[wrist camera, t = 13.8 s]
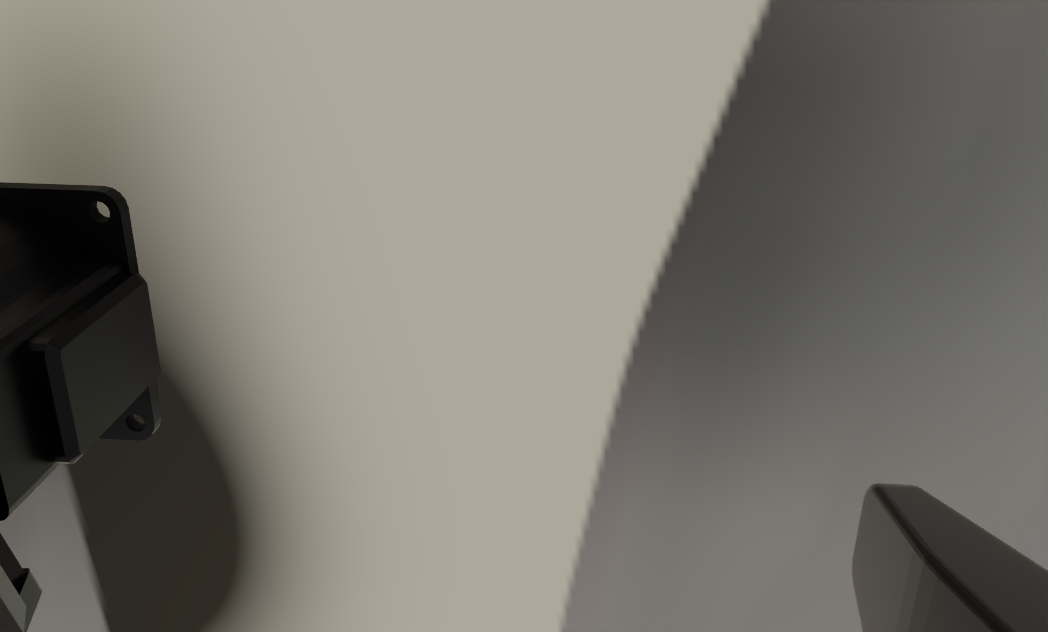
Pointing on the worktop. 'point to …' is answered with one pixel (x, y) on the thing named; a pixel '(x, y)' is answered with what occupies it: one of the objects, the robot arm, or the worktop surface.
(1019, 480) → the worktop surface
